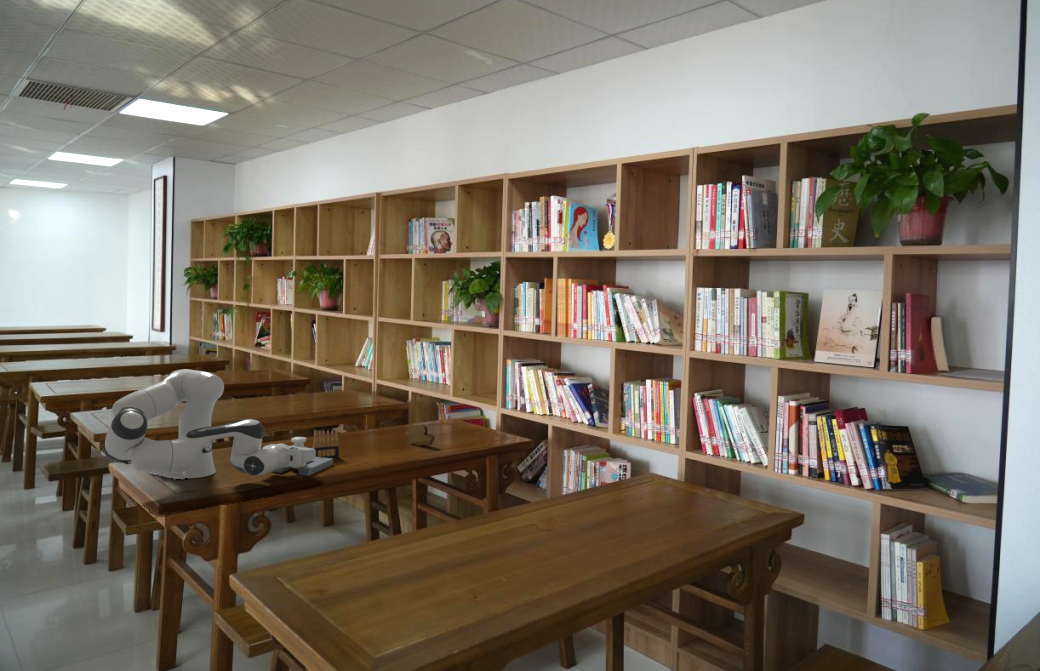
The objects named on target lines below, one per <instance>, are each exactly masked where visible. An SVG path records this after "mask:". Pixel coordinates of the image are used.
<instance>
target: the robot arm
mask: <svg viewBox="0 0 1040 671" xmlns="http://www.w3.org/2000/svg"><path fill="white" fill-rule="evenodd" d="M224 391H225V383H224V381H223V379H222V377H220V376H218V375H216V374H215V373H212V372H209V371H203V370H194V369H190V368H189V369H187V368H184V369H177V370H174V371H171V373H169V374H168V375H167V377H166V378H164V379H163V380H161V381H159V382H156V383H154V384H151V385H149V386H145V387H143V388H141V389H139V390H136V391H134V392H131V393H128V394H127V395H124V396H123V397H121V398H120V399H118V400H117V401H115V402H114V403H113V405H112V407H111V414H112V418H113V419H112V421H111V424H109V427H108V429H107V431H106V436H105V440H104V442H103V446H102V447H103V454H104V455H105V457H106V458H107V459H108V460H110V461H112V462H114V463H119V464H125V465H132V467H133V468H134V469H135V470H136V471H138V472H142V473H150V474H151V475H154V476H157V475H158V477H162V476H163V477H164V478H167V479H171V478H173V479H172V480H176V479H181V480H185V478H188V479H198V478H204V477H209V476H211V475H214V474H216V473H217V472H216V468H215V465H214V459H213V453H212V452H213V451H212V449H213V441H215V440H221V439H225V438H226V439H227V438H230V437H231V438H232V437H233V442H232V448H231V453H230V454H231V455H230V459H229V463H230V464H231V466H232V467H233V468H234V470H236V471H238V472H241V473H244V474H248V475H250V476H253V477H257V476H263V475H267V474H270V473H273V472H272V471H274V470H277V469H280V468H285V467H298V466H301V465H302V463H306V462H309V461H311V460H313V459H314V458H315V456H316V451H315V449H314V448H313V447H311V448H310V447H308V446H304V447H294V444H292V445H287V444H285V443H276V444H275V443H273V444H271V443H270V444H267V445H264V446H263V447H262V443H263V438H264V435H265V433H266V432H265V431H266V428H265V426H264V425H263V424H262V423H261V422H260V420H257V419H252V418H246V419H242V420H238V421H234V422H229V423H223V424H218V425H212V416H213V410H214V407H215V405H216V402H217V401H218V399H220V398H221V397H222V395H223V393H224ZM182 402H186V403H185V407H184V410H183V412H181V413H180V414H179V416H178V437H175V438H172V439H171V440H170V439H168V440H167V439H165V440H153V439H150V438H148V437H145V435H146V432H147V431H148V421H150V420H152V419H155V418H157V417H159V416H163V415H164V414H165V415H166V414H168V413H170V412H173V411H174V410H175V409H176V406H177V405H178V404H180V403H182ZM163 477H162V478H163Z"/></svg>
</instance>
